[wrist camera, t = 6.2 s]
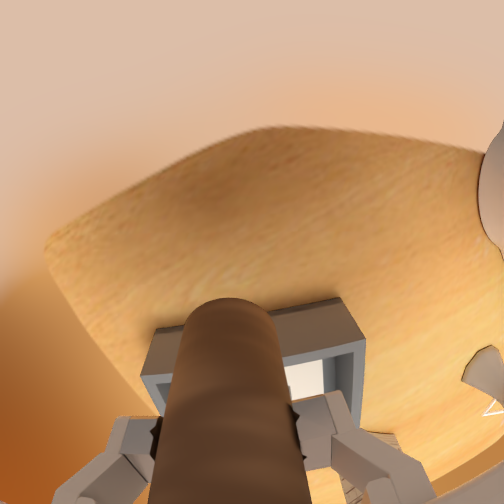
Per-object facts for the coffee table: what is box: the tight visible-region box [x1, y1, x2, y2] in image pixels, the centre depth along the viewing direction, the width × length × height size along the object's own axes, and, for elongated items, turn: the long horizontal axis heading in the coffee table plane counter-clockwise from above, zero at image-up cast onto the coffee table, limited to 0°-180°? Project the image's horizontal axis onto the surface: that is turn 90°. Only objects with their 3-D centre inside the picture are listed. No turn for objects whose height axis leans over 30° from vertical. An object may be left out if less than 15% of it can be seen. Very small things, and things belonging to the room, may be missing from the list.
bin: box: [140, 297, 366, 429], centre depth 29 cm, size 18×18×7 cm
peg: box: [148, 298, 312, 504], centre depth 8 cm, size 4×4×10 cm
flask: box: [462, 346, 504, 407], centre depth 30 cm, size 7×7×10 cm
